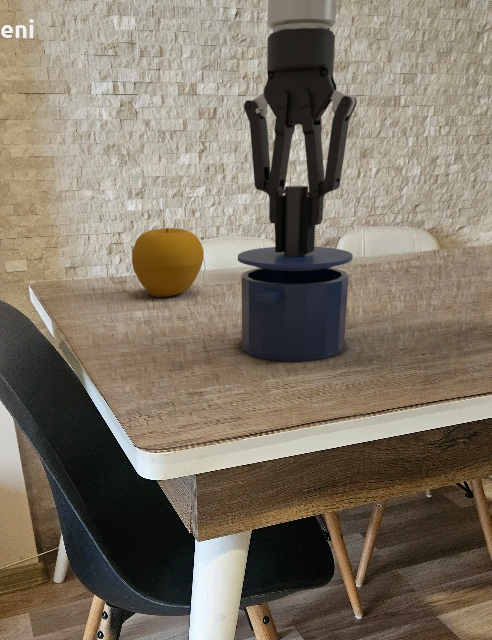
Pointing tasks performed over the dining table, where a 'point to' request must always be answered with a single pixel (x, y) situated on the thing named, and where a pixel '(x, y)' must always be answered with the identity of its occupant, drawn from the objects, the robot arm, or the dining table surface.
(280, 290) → the pot
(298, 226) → the lid
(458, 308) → the dining table surface
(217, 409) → the dining table surface
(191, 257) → the apple
